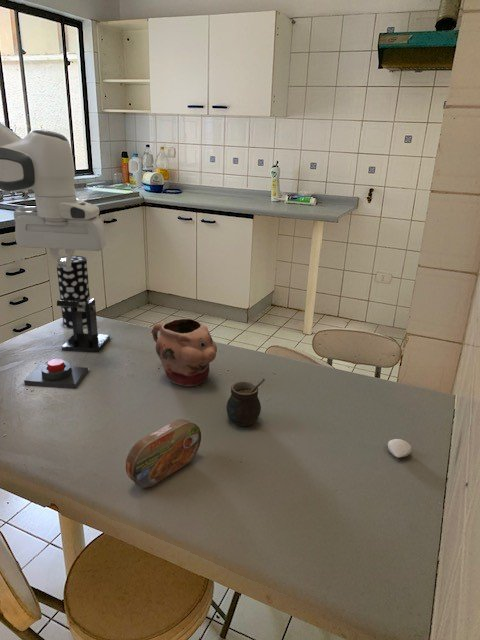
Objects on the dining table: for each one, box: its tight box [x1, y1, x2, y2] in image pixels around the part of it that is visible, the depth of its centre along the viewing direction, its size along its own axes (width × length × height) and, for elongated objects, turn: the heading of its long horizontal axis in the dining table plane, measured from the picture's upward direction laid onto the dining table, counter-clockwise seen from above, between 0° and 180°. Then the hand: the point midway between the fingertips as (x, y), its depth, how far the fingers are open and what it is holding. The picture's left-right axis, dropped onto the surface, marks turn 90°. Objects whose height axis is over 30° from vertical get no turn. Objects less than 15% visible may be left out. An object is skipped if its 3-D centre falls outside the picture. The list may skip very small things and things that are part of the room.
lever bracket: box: [61, 297, 111, 354], centre depth 125 cm, size 9×10×13 cm
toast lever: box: [56, 299, 86, 312], centre depth 119 cm, size 12×5×2 cm, turn 177°
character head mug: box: [151, 317, 218, 387], centre depth 111 cm, size 20×12×14 cm, turn 58°
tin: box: [125, 418, 202, 489], centre depth 80 cm, size 15×3×8 cm, turn 137°
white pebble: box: [387, 438, 412, 459], centre depth 88 cm, size 4×5×2 cm
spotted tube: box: [56, 255, 91, 329], centre depth 137 cm, size 8×8×20 cm
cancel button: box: [46, 358, 65, 372], centre depth 109 cm, size 4×4×2 cm
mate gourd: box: [225, 378, 266, 427], centre depth 95 cm, size 7×8×10 cm
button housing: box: [23, 360, 89, 389], centre depth 109 cm, size 12×8×3 cm, turn 87°
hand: (64, 267), depth 110 cm, fingers closed
